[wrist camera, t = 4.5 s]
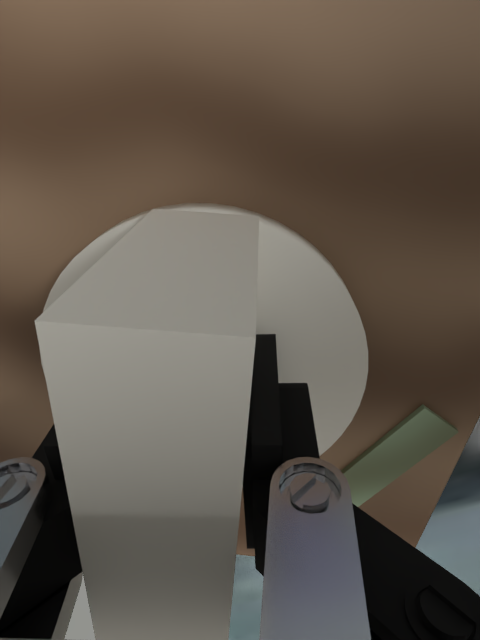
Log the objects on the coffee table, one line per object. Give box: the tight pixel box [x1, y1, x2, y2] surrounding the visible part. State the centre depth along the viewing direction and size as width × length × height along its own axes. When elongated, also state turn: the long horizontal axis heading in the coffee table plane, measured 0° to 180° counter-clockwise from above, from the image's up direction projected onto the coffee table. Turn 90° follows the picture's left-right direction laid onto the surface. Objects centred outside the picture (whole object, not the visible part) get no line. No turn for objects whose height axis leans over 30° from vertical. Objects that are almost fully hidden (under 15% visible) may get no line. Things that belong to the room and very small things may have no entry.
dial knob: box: [35, 203, 368, 640], centre depth 10 cm, size 14×9×6 cm, turn 177°
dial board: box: [0, 0, 480, 556], centre depth 14 cm, size 20×18×3 cm
